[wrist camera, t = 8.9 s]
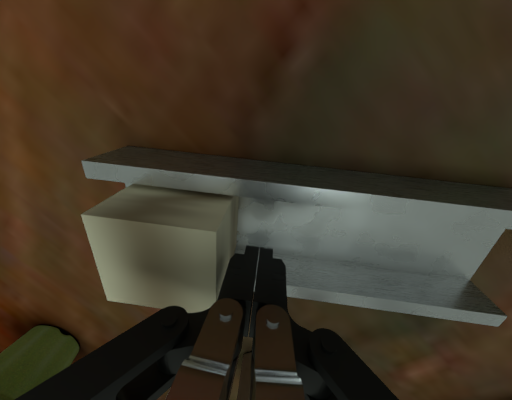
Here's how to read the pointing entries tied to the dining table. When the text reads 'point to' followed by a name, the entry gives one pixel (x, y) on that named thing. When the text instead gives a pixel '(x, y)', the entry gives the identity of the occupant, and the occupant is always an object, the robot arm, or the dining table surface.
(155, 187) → the block
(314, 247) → the chute
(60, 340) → the plant pot
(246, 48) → the dining table surface
